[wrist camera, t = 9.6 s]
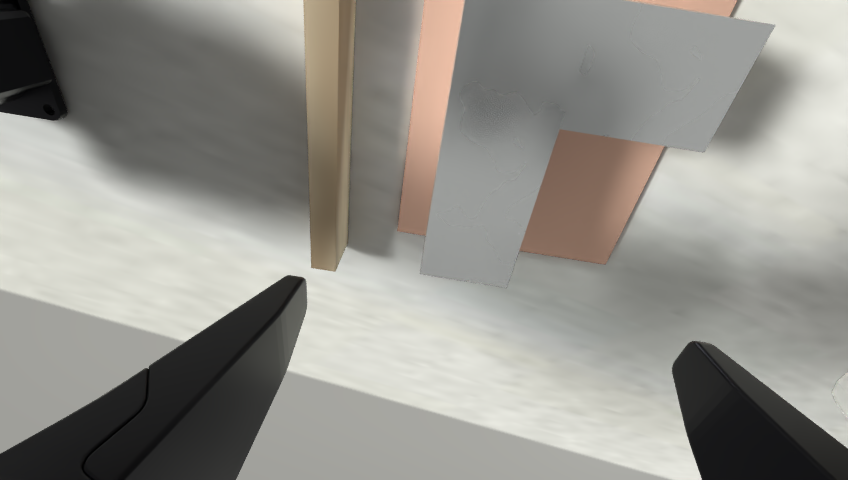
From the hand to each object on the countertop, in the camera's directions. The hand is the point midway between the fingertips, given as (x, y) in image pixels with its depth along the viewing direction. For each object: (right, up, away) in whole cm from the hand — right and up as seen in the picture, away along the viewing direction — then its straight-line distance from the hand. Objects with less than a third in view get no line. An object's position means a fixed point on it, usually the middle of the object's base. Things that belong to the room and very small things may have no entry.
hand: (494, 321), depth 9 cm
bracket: (+3, +7, +8) cm, 11 cm away
